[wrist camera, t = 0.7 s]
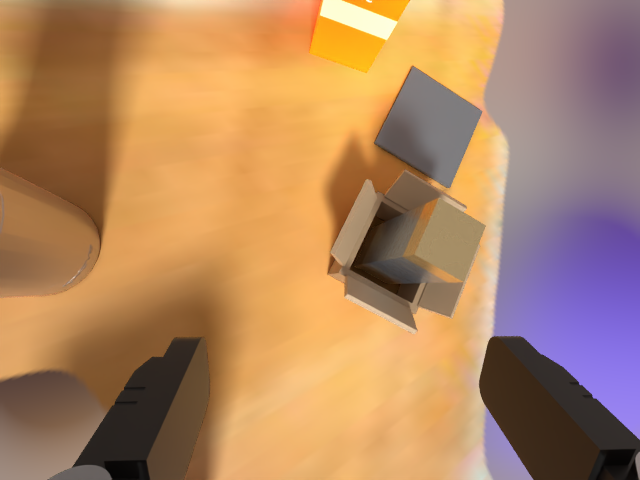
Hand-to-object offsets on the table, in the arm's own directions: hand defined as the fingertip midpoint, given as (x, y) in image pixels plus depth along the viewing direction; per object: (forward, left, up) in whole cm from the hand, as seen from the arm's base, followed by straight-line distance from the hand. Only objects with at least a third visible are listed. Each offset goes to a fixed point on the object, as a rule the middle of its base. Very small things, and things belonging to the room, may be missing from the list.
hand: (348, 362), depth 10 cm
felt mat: (+8, +29, -27) cm, 41 cm away
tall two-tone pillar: (+9, +11, -27) cm, 31 cm away
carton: (+9, +11, -27) cm, 31 cm away
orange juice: (-7, +34, -28) cm, 44 cm away
